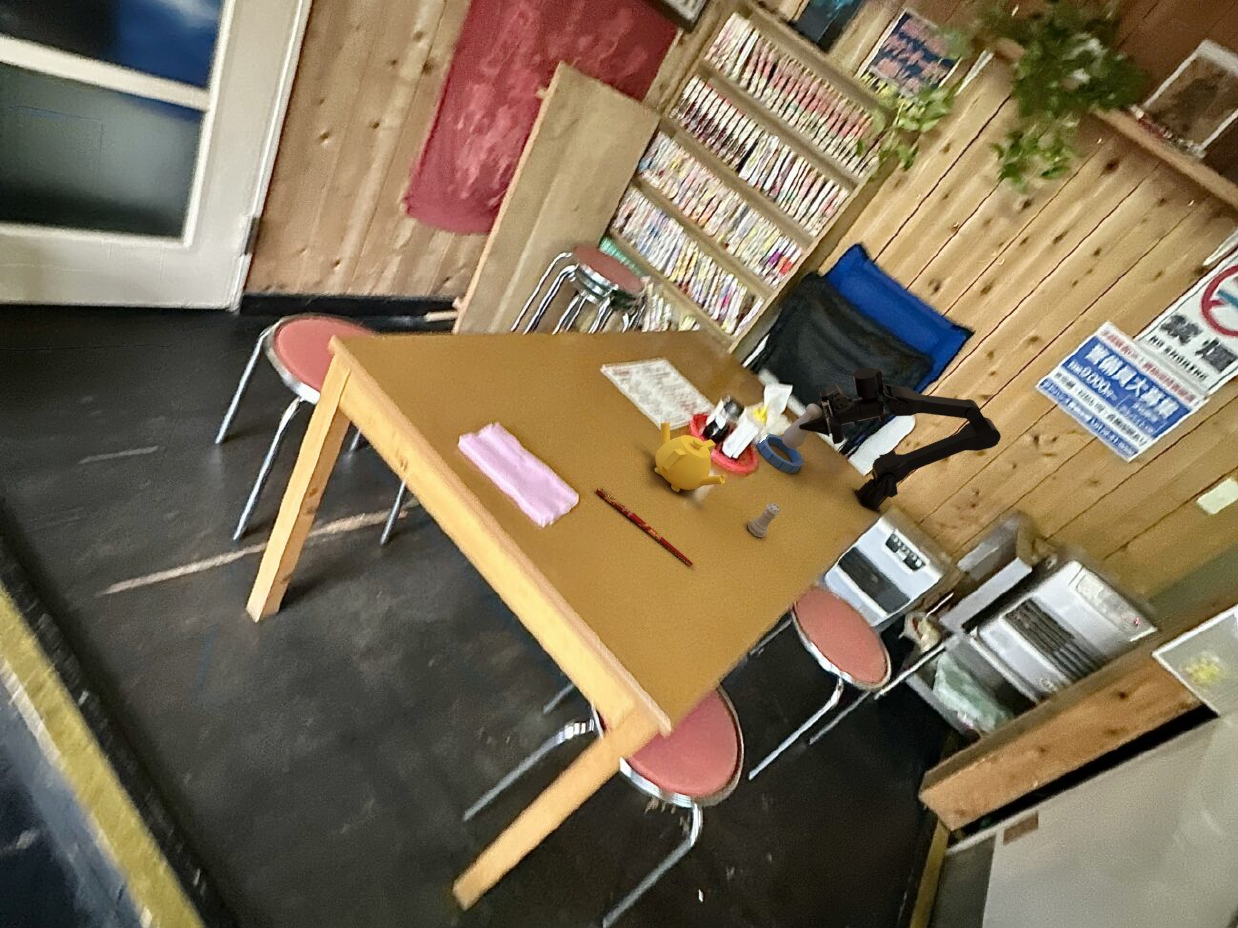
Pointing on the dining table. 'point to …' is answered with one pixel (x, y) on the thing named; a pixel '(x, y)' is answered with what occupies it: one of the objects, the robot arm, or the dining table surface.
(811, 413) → the salt shaker
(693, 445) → the teapot
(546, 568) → the dining table surface
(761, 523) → the rook chess piece
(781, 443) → the tape roll
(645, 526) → the chopstick
